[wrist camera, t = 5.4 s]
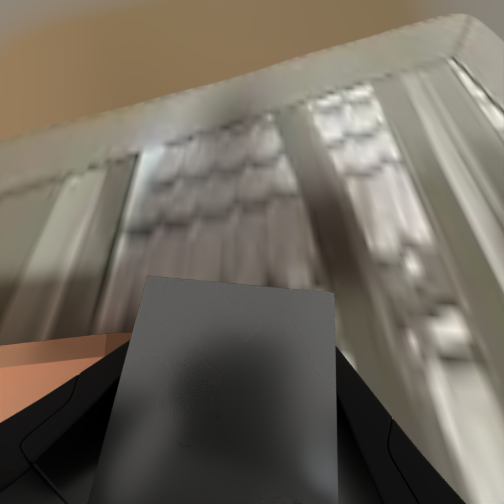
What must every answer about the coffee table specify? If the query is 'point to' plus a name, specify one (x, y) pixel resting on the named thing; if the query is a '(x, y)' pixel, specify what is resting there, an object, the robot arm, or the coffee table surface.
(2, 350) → the coupler dock
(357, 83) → the coffee table surface
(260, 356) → the block
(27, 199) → the coffee table surface
